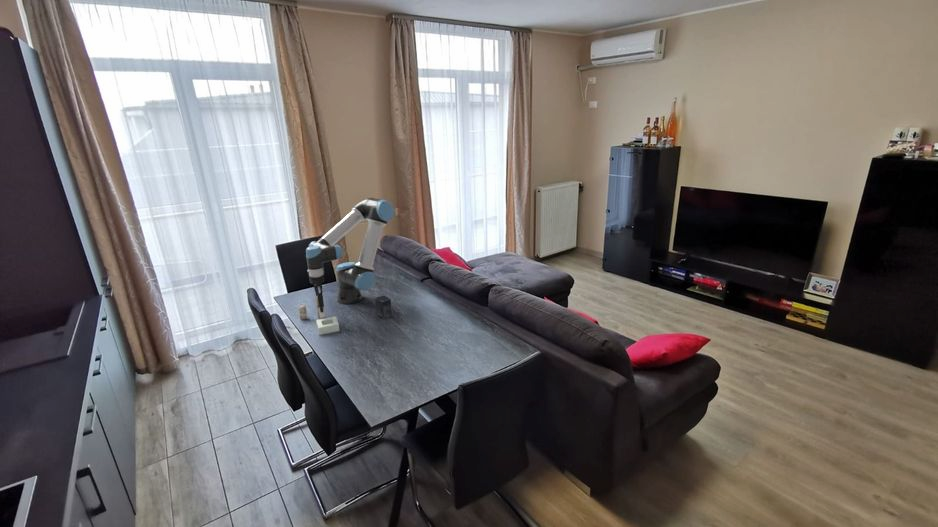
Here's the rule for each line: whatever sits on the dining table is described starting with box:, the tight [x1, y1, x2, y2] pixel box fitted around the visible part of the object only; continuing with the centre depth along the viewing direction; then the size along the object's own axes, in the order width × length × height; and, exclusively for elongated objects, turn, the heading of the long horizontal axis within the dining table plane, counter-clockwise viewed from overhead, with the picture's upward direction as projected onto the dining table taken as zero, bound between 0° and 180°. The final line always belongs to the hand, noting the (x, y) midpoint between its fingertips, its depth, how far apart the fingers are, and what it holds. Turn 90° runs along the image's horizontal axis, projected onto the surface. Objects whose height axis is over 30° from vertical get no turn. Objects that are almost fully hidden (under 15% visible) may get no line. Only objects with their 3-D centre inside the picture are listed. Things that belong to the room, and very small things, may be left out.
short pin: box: [298, 305, 308, 320], centre depth 227 cm, size 4×4×7 cm
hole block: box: [315, 316, 340, 336], centre depth 215 cm, size 10×10×4 cm
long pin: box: [315, 295, 327, 320], centre depth 223 cm, size 4×4×14 cm
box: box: [374, 295, 393, 320], centre depth 229 cm, size 8×6×11 cm
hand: (321, 314), depth 224 cm, fingers open, 6 cm apart
